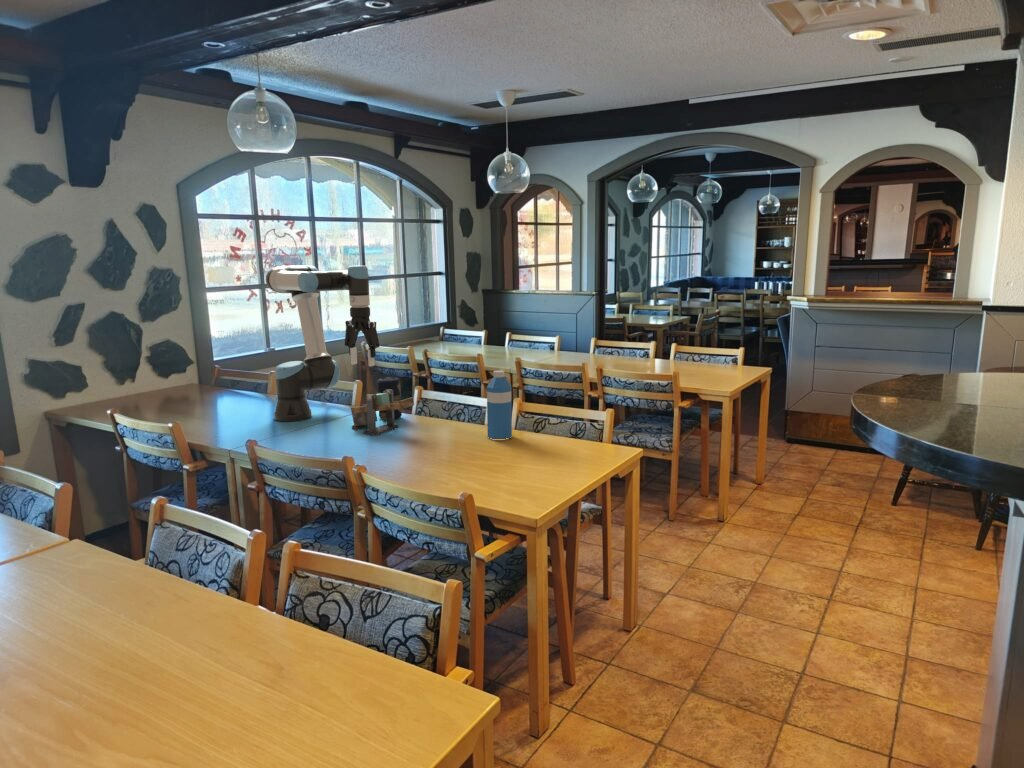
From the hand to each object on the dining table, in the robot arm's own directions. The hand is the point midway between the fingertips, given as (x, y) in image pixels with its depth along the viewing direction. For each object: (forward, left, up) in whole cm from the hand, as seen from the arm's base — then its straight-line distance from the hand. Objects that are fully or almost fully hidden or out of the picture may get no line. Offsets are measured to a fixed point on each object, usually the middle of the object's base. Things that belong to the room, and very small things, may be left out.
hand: (362, 365), depth 264 cm
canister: (-2, +17, -26) cm, 31 cm away
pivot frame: (+8, 0, -25) cm, 27 cm away
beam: (+10, 0, -22) cm, 24 cm away
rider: (+8, 0, -16) cm, 18 cm away
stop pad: (-3, 0, -25) cm, 25 cm away
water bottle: (+54, +13, -26) cm, 61 cm away
